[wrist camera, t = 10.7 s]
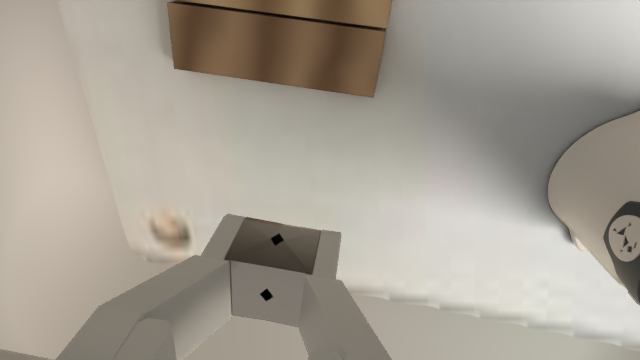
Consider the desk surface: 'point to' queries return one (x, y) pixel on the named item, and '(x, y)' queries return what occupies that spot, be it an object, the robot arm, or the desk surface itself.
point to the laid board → (276, 48)
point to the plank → (317, 9)
